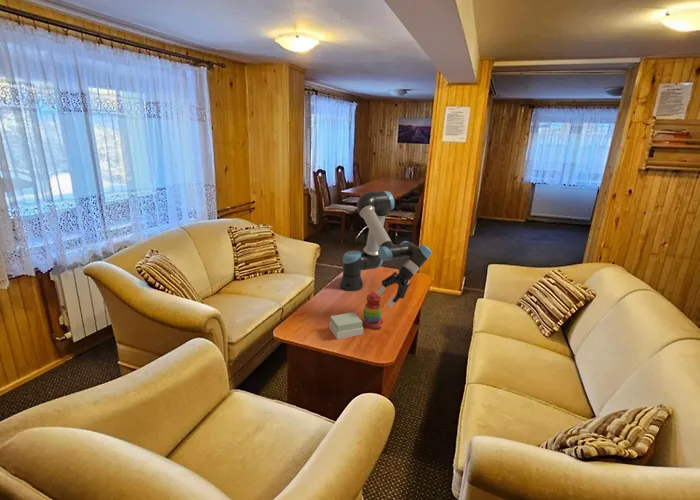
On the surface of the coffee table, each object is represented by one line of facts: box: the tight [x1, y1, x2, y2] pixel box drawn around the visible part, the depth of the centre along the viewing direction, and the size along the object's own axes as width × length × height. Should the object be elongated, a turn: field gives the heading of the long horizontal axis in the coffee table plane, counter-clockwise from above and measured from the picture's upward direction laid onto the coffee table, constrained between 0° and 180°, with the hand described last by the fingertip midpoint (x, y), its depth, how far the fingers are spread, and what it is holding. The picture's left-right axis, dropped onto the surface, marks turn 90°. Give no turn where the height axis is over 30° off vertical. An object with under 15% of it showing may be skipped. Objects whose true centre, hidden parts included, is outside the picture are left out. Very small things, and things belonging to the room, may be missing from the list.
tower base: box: [328, 311, 364, 340], centre depth 192 cm, size 12×14×7 cm
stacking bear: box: [362, 291, 384, 330], centre depth 198 cm, size 11×10×18 cm
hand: (382, 300), depth 197 cm, fingers open, 13 cm apart
